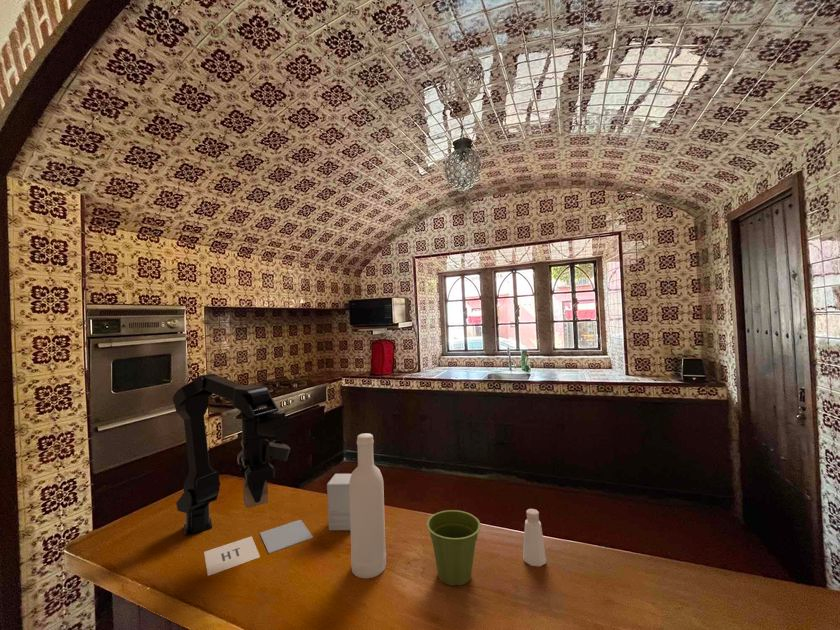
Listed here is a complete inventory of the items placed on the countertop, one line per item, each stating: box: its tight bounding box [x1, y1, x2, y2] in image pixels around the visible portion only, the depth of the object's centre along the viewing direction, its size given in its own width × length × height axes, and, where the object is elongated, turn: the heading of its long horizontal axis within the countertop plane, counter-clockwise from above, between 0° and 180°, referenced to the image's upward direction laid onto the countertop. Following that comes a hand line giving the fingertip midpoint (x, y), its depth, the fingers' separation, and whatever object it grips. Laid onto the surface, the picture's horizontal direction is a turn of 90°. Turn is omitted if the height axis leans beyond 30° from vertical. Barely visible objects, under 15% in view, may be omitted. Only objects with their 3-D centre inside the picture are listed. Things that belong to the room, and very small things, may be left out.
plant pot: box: [426, 509, 482, 586], centre depth 80 cm, size 12×12×11 cm
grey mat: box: [259, 519, 314, 555], centre depth 97 cm, size 11×11×1 cm
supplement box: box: [326, 473, 352, 531], centre depth 102 cm, size 7×7×13 cm
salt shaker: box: [522, 508, 547, 567], centre depth 84 cm, size 5×5×11 cm
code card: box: [203, 536, 261, 577], centre depth 90 cm, size 11×11×1 cm
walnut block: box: [242, 480, 269, 509], centre depth 93 cm, size 5×5×5 cm
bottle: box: [349, 432, 387, 579], centre depth 84 cm, size 8×8×30 cm
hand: (255, 498), depth 93 cm, fingers closed on walnut block, 5 cm apart
